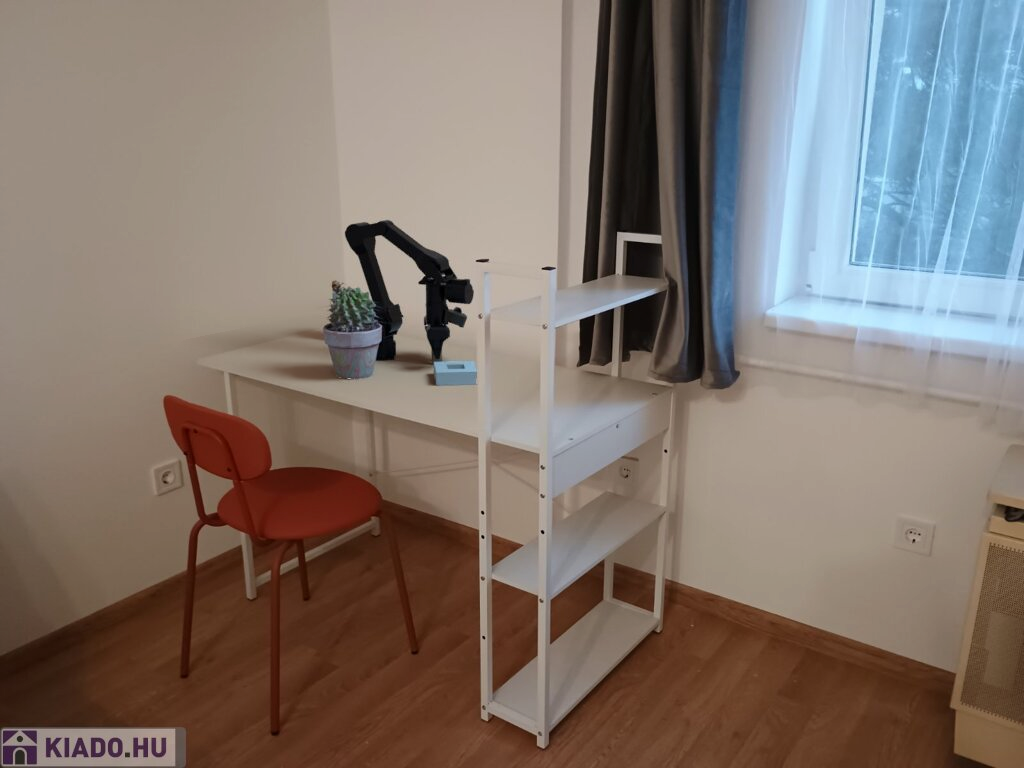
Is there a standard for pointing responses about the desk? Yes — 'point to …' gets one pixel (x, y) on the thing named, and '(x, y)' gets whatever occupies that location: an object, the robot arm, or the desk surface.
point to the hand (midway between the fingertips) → (436, 355)
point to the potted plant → (352, 332)
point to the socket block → (455, 373)
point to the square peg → (435, 358)
